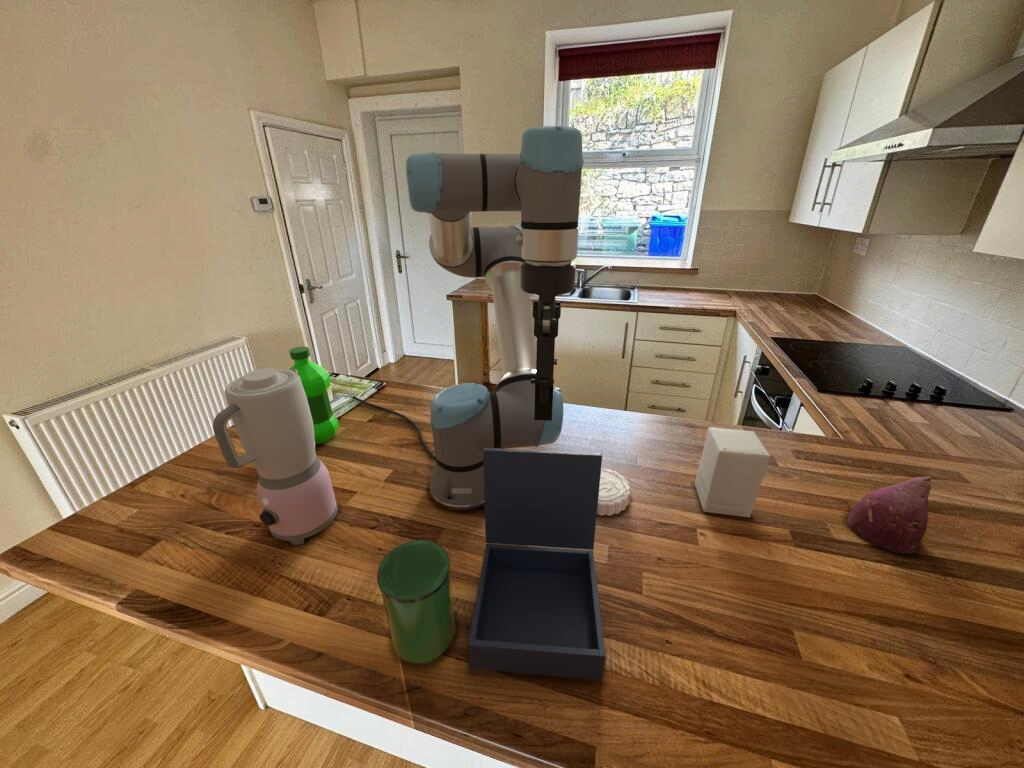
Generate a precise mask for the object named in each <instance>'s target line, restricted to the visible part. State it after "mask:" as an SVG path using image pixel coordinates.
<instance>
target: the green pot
mask: <svg viewBox="0 0 1024 768" xmlns="http://www.w3.org/2000/svg"><path fill="white" fill-rule="evenodd" d="M450 571H451V560H450V556H449V553H448V552H447V550H446V549H445V548H444V547H443V546H442V545H441V544H440V543H438V542H436V541H433V540H429V539H413V540H409V541H405V542H402V543H401V544H398V545H397V546H396V547H394V548H392V549H391V550H390V551H389V552H388V553H386V555H385V556H384V557H383V559H382V560H381V562H380V563H379V566H378V568H377V572H376V582H377V586H378V589H379V591H380V592H381V597H382V601H383V606H384V610H385V615H386V619H387V624H388V628H389V633H390V637H391V641H392V642H391V643H392V646H393V650H394V653H395V655H396V656H397V658H398V659H399V660H401V659H402V660H403V661H406V662H408V663H412V664H424V663H428V662H430V661H433V660H435V659H437V658H438V657H440V656H441V655H442V654H444V652H445V651H446V650H447V649H448V648H449V646H450V645H451V643H452V641H453V639H454V636H455V633H456V622H455V611H454V602H453V594H452V583H451V582H452V581H451V575H450V574H451V573H450Z"/></svg>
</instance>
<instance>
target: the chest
mask: <svg viewBox="0 0 1024 768" xmlns="http://www.w3.org/2000/svg"><path fill="white" fill-rule="evenodd" d="M484 547H485V548H484V553H483V559H482V564H481V570H480V575H479V581H478V587H477V591H476V597H475V604H474V608H473V614H472V619H471V625H470V631H469V636H468V641H467V651H468V662H469V669H474V670H475V669H476V670H486V671H487V670H488V671H496V672H497V671H498V672H509V673H510V672H511V673H521V674H530V675H531V674H533V675H542V676H543V675H544V676H555V677H567V678H577V679H589V680H601V681H603V675H604V670H605V664H606V657H607V656H606V647H605V640H604V630H603V623H602V614H601V605H600V597H599V589H598V588H599V587H598V579H597V573H596V564H595V555H594V549H593V550H588V549H573V548H557V547H541V546H526V545H510V544H494V543H485V546H484Z"/></svg>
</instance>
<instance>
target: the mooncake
mask: <svg viewBox="0 0 1024 768" xmlns="http://www.w3.org/2000/svg"><path fill="white" fill-rule="evenodd" d="M631 491H632V489H631V486H630V482H629V480H626V478H625V476H623V475H621V474H620V473H619V472H617V471H614V470H612V469H610V468H604V467H601V475H600V486H599V496H598V507H597V516H605V515H606V516H607V517H608V516H609V517H610V516H612V515H618V514H620V513H621V512H623V511H625V510H626V509H627V507H628V506H629V504H630V499H631Z"/></svg>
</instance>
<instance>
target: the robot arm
mask: <svg viewBox="0 0 1024 768" xmlns="http://www.w3.org/2000/svg"><path fill="white" fill-rule="evenodd" d="M583 138H584V137H583V134H582V131H580V129H578V128H577V127H573V126H569V125H568V126H567V125H544V126H543V125H542V126H533V127H530V128H527V129H526V130H524V132H523V133H522V135H521V146H520V153H452V152H451V153H450V152H449V153H447V152H446V153H445V152H441V153H440V152H435V151H431V152H429V153H417V154H416V153H413V154H410V155H408V157H407V159H406V161H405V175H406V176H405V177H406V185H407V194H408V201H409V204H410V205H409V206H410V208H411V209H412V210H413V212H417V213H426V214H427V218H428V224H429V228H430V235H429V240H428V247H429V251H430V254H431V256H432V258H433V260H434V261H435V263H436V264H437V265H439V267H440V268H442V269H444V270H446V271H447V272H449V273H451V274H452V275H456V276H458V277H463V278H484V282H485V285H486V286H487V287H488V288H489V289H491V290H492V298H493V307H494V316H495V323H496V332H497V333H496V334H497V342H498V349H499V358H500V359H499V360H500V367H501V376H502V378H501V379H500V380H499V381H498V382H497V383H496V386H495V387H496V391H492V392H490V391H489V390H488V387H486V386H485V385H483V384H481V383H475V382H463V383H458V384H454V385H451V386H448V387H446V388H444V389H443V390H442V391H440V392H438V393H437V394H436V395H435V396H434V397H433V398H432V400H431V403H430V408H429V409H430V418H429V423H430V426H431V431H432V440H433V450H434V453H433V452H432V451H431V450H430V449H429V447H428V445H427V444H426V442H425V441H424V438H423V435H422V432H421V429H420V428H419V427H418V425H417V424H416V423H415V422H414V421H413V420H411V419H410V418H409V417H407V416H406V415H404V414H402V413H400V412H398V411H394V410H391V409H390V408H386V407H383V406H379V405H376V404H372V403H370V402H368V401H365V400H362V399H361V398H358V397H357V396H354V395H352V396H351V398H352V399H353V400H356V401H358V402H360V403H362V404H364V405H366V406H369V407H371V408H375V409H379V410H382V411H385V412H387V413H390V414H393V415H396V416H398V417H400V418H402V419H404V420H405V421H407V422H408V423H410V424H411V426H413V428H414V429H415V430H416V432H417V434H418V437H419V440H420V443H421V445H422V447H423V448H424V450H425V451H426V452H427V453H428V455H429V457H431V458H432V459H433V460H434V464H433V469H432V471H431V475H430V479H429V493H430V497H431V499H432V500H433V502H434V503H435V504H436V505H438V506H439V507H441V508H443V509H444V510H447V511H451V512H459V513H460V512H461V513H463V512H471V511H475V510H479V509H481V508H485V500H484V463H483V449H484V448H500V449H517V448H526V447H527V448H528V447H536V448H537V447H539V446H543V445H544V446H545V445H551V444H554V443H555V442H557V441H558V439H559V438H560V436H561V433H562V429H563V422H564V396H563V393H562V390H561V388H559V387H556V386H554V384H555V378H554V375H555V374H554V373H555V366H557V365H558V359H557V358H555V348H556V347H555V346H556V338H557V337H558V336H559V321H560V318H561V313H562V312H561V311H562V306H561V301H556V297H557V296H558V295H566V294H569V293H571V292H573V291H574V289H575V286H576V285H575V284H576V268H577V267H576V265H575V263H574V262H573V261H575V260H576V259H577V258H578V245H579V244H578V243H579V242H578V241H579V217H580V204H581V203H580V202H581V188H582V186H581V185H582V174H583V173H582V172H583V166H584V162H585V161H584V157H583V155H584V153H583V152H584V149H583V148H584V145H583V144H584V143H583V140H584V139H583ZM475 212H476V213H481V212H484V213H485V212H521V213H520V226H517V225H509V226H471V223H472V215H473V213H475ZM531 295H536V296H538V298H537V300H533V301H532V299H531Z"/></svg>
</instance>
